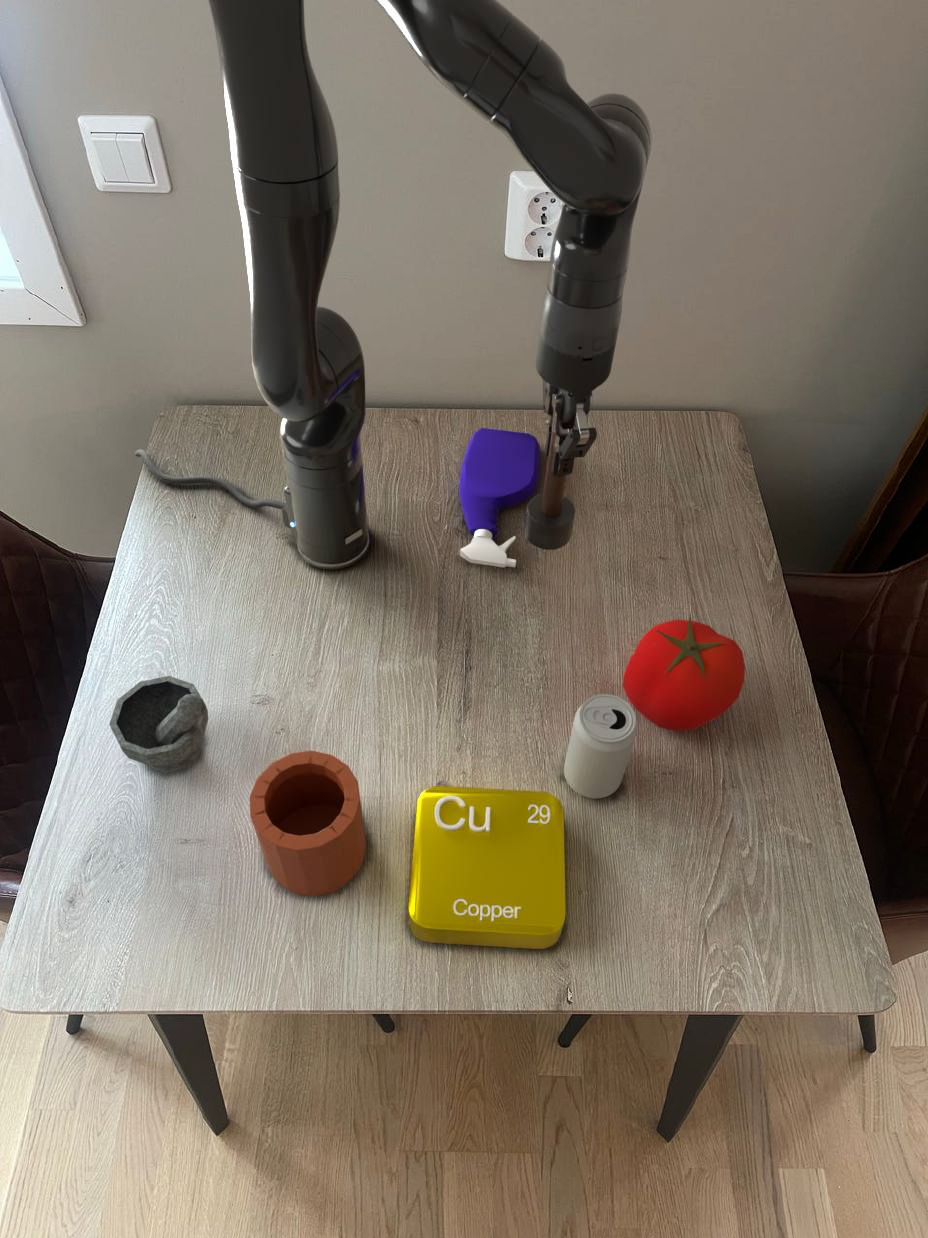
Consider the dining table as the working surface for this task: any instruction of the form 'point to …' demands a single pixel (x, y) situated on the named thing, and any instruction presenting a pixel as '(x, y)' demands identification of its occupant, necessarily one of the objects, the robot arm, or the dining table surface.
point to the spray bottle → (495, 488)
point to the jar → (309, 822)
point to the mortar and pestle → (160, 723)
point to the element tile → (488, 868)
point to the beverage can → (600, 745)
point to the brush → (550, 511)
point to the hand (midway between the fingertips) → (558, 463)
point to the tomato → (684, 675)
